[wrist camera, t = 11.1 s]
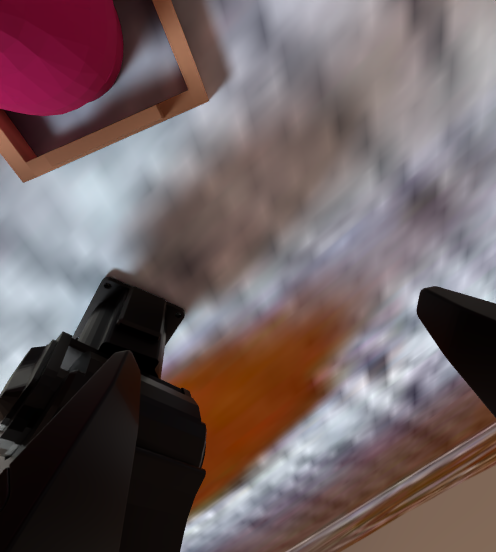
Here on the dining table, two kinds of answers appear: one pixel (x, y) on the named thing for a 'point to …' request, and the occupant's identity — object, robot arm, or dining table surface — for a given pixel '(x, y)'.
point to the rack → (28, 166)
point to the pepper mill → (57, 54)
